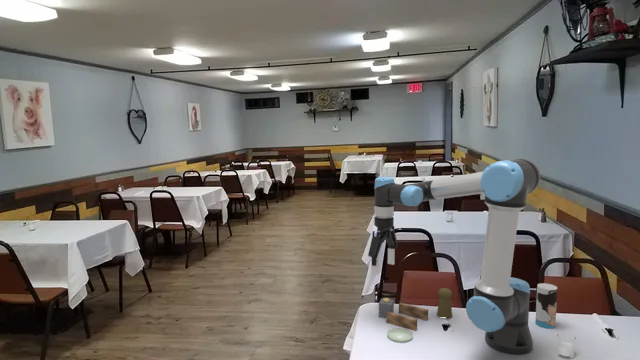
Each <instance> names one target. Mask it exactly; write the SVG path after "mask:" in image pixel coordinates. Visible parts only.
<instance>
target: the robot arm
mask: <svg viewBox="0 0 640 360" xmlns="http://www.w3.org/2000/svg"><path fill="white" fill-rule="evenodd" d="M540 183H541V172H540V170H539V168H538V166H537V165H536V163H534V162H533V161H531V160H528V159H523V158H517V159H516V158H515V159H506V160H503V159H502V160H499V161H496V162H494V163H493V162H492V163H491V164H490V165H488V166H487V167H486V168H485V169H484V170H483V171H478V172H472V173H468V174H461V175H457V176H456V175H455V176H449V177H444V178H443V177H442V178H438V179H434V180H427V181H421V182H415V183H407V184H402V183H395V178H394V177H391V176H377V177H376V178H375V180H374V187H373V188H374V206H373V209H374V220H373V223H374V224H373V225H374V226H375V227H376V228H377V229H376V230H373V231H372V235H371V236H372V237H371V241H370V247H369V250H368V254H367V255H368V257H370V258H371V274H375V275H378V274H379V268H380V267H379V266H380V265H379V260H380V259H379V254H380V250H381V248H382V244H383V243H385V242H386V243H387V245H388V248H387V264H388V265H393V266H394V265H395V259H396V258H395V257H396V256H395V252H396V251H395V250H397V249H398V245H399V244H398V240H397V235H396V232H395V225H394V224H395V223H394V215H395V211H394V210H395V204H397V205H402V206H406V207H418V206H419V205H420V204H421V203H423V202H428V201H436V200H442V199H450V198H455V197H456V198H457V197H465V196H472V195H481V194H484V204H485V205H486V206H487V207H488V214H487V221H486V231H485V238H484V239H485V240H484V246H483V256H482V263H481V265H482V266H481V271H480V273H481V274H480V279H478V280H477V281H475V283H474V288H473V296H472V297H470V298H469V299H468V301H467V302H466V304H465V305H466V306H465V308H466V309H465V310H466V311H465V312H466V315H467V317H468V319H469V320H470V322H471V324H472V325H473V326H475V327H476V328H477V329H479V330H480V331H483V332H485V335H484V336H485V337H484V338H485V343H486V344H487V345H488V346H489V347H491V348H492V349H494V350H496V351H499V352H502V353H504V354H511V355H524V354H528V353H530V352H532V351H533V349H534V348H533V347H534V340H533V337H532V333H531V329H530V327H529V314H530V295H531V290H530V288H531V287H530V284H529V283H528V282H527V281H526V280H523V279H521V278H517V277H511V276H512V269H513V267H512V266H513V262H514V261H513V259H514V252H515V247H516V246H515V245H516V238H517V231H518V223H519V215H520V211H522V210H523V209H525V208H526V205H527V198H528V195H529V194H532V192H534V191H536V189H538V186H539V185H540Z"/></svg>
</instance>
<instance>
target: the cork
mask: <svg viewBox="0 0 640 360" xmlns="http://www.w3.org/2000/svg"><path fill="white" fill-rule="evenodd" d="M437 294H438V297H439V299H438V304H437V306H438V307H437V309H436V310H437V312H436V317H438V318H440V317H446V318H447V319H446V320H449V319H452V318H453V310H452V301H451V298H452V295H453V292H452V290H451V289H449V288H448V287H447V288H446V287H441V288H439V290H438V293H437Z"/></svg>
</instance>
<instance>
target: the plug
mask: <svg viewBox="0 0 640 360" xmlns="http://www.w3.org/2000/svg"><path fill="white" fill-rule="evenodd" d="M394 302H395V301H394V299H390V298H389V297H385V298H384V297H383V298H380V300H379V302H378V319H386V320H387V312H392V313H395V312H394Z"/></svg>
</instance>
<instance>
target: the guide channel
mask: <svg viewBox="0 0 640 360" xmlns="http://www.w3.org/2000/svg"><path fill="white" fill-rule="evenodd" d="M418 319H419V320H423V321H428V320H429V309H427V308H423V307H420V306H415V305H411V304H408V303H403V302H399V303H398V313H395V312H394V313H392V312H387V319H386V324H389V325H393V326H396V327H398V328H403V329H407V330H409V331H414V332H416V331H417V330H418Z"/></svg>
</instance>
